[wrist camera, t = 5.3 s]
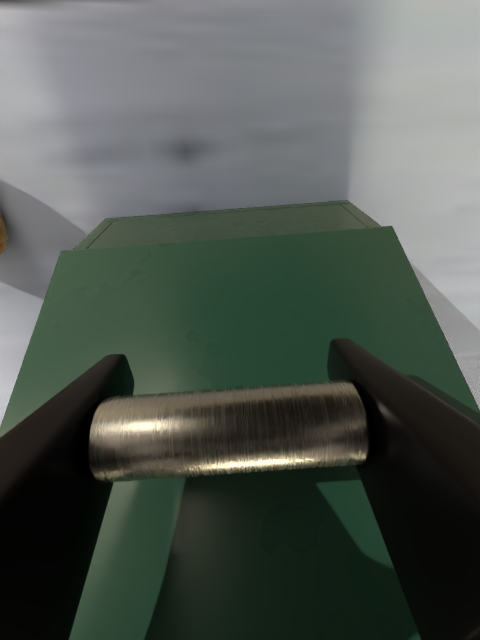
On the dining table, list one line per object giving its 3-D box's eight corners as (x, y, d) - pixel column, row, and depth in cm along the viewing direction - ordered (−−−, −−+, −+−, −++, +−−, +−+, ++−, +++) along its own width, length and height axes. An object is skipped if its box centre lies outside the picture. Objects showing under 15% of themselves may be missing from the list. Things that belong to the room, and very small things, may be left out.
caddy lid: (642, 805, 6) (1382, 1364, 2) (-122, 857, 6) (-824, 1494, 2) (386, 237, 14) (436, 133, 10) (68, 261, 14) (-1, 166, 10)
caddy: (325, 374, 26) (344, 426, 22) (157, 387, 26) (144, 441, 22) (348, 199, 18) (385, 228, 14) (105, 218, 18) (68, 252, 14)
